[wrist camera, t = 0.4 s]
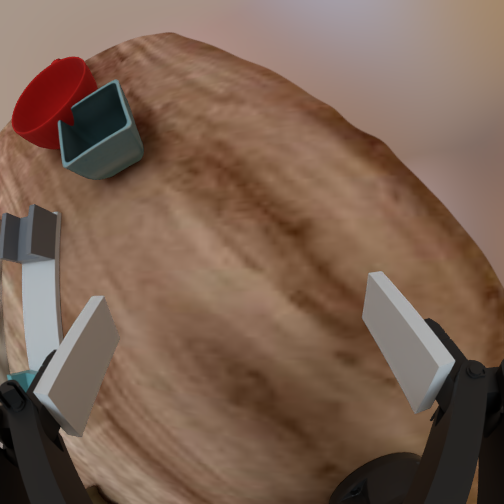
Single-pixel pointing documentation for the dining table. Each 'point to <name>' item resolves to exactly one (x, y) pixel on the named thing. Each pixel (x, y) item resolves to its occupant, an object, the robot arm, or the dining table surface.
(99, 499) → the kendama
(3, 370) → the grey white bar
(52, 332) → the long grey teal holder
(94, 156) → the flower pot
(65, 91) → the ceramic cup
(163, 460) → the dining table surface
